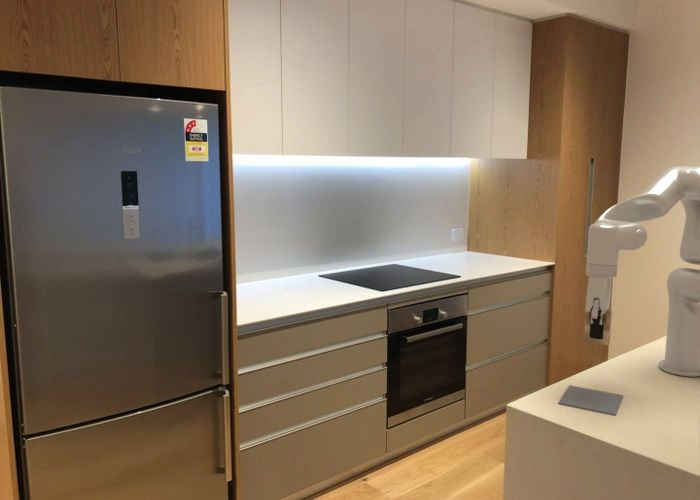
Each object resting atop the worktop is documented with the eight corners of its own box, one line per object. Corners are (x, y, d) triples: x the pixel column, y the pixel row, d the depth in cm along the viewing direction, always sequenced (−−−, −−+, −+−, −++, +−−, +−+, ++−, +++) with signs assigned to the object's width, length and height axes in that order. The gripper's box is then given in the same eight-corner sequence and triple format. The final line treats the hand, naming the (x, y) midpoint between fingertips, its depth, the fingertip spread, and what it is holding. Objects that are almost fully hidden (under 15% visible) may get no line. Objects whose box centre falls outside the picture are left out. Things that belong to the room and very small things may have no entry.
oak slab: (586, 339, 161) (588, 307, 160) (609, 342, 158) (611, 310, 157) (583, 342, 159) (585, 309, 157) (607, 345, 156) (610, 312, 154)
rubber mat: (569, 386, 167) (569, 385, 167) (623, 396, 160) (623, 395, 160) (558, 403, 155) (558, 402, 155) (615, 415, 148) (615, 414, 148)
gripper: (591, 263, 164) (588, 327, 167) (580, 273, 150) (576, 342, 153) (621, 266, 160) (616, 331, 163) (612, 276, 147) (607, 347, 149)
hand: (597, 336), depth 158 cm, fingers closed on oak slab, 3 cm apart
